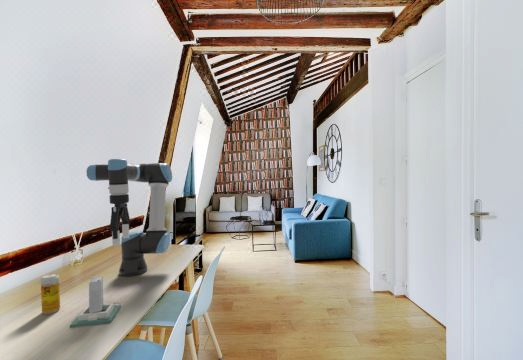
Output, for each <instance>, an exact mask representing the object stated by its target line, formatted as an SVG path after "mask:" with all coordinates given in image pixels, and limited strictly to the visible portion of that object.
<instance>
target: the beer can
mask: <svg viewBox="0 0 523 360" xmlns="http://www.w3.org/2000/svg"><path fill="white" fill-rule="evenodd" d="M40 291H41V293H40V295H41V298H40V299H41V300H40V301H41V313H42V314H43V315H51V314H54V313H56V312H58V311H59V310H60V308H61V294H60V293H61V292H60V276H59V274H58V273H50V274H46V275H45V274H44V275H42V276H41V279H40Z"/></svg>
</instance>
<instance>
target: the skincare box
mask: <svg viewBox="0 0 523 360" xmlns="http://www.w3.org/2000/svg"><path fill="white" fill-rule="evenodd" d="M103 304H104V276H103V275H101V276H94V277H93V276H92V277H90V280H89V282H88V306H89V313H94V312H99V311H101V310H102V307H103Z"/></svg>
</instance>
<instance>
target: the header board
mask: <svg viewBox="0 0 523 360" xmlns="http://www.w3.org/2000/svg"><path fill="white" fill-rule="evenodd" d="M121 307H122V304H115V303H114V302H112V303H103V307H102V310H101V311H99V312H94V313H89V305H87V306H86V307H85V308H84V309H82V311H81V312H80V313H79V314H78V315H77V316H76V317H75V319H74V320H73V321H72V322H71V323H70V324H69V328H78V327H85V326H96V325H102V324H103V323H104V324H109V323H112V322H113V320H114V319H115V318H116V316H117V314H118V313H119V311H120V309H121Z"/></svg>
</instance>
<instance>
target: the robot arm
mask: <svg viewBox="0 0 523 360" xmlns="http://www.w3.org/2000/svg"><path fill="white" fill-rule="evenodd" d="M85 172H86V176H87V178H88V180H90V181H96V182H97V181H98V182H99V181H108V187H107V190H109V194H110V195H109V204H110V205H114V206H111V216H110V224H109V229H108V230H109V232H111V237H112V238H111V242H112V247H114V248H115V247H120V246H121V261H120V266H119V269H118V275H119V276H121V277H133V276H139V275H142V274H144V273H146V272H147V271H148V264H147V262H146V259H145V255H147V254H148V255H151V254H152V255H153V254H154V255H155V254H157V255H158V254H159V255H160V254H164V253H166V252H167V251H168V249H169V247H170V243H171V233H169V232H168V229H167V227H165V221H166V220H165V219H166V217H165V216H166V194H167V193H166V191H167V188H168V186H169V183H170V182H172V181H173V173H172V169H171V166H170V165H169V164H168V163H165V162H164V163H163V162H159V163H156V162H154V163H139V164H135V163H128V161H127V159H126V158H111V159H108V161H107V164H98V163H97V164H89V165H88V166H87V168H86V171H85ZM129 182H138V183H148V186H149V187H150V197H149V198H150V199H149V220H148V221H149V222H148V224H149V225H148V228H147V229H146V230H145V233H144V231H143V230H138V231H137V230H136V231H135V230H134V231H131V232H130V224H131V222H132V221H131V219H130V214H129V209H128V203H130V202H129V201H130V197H129ZM120 223H122V224H121V229H122V230H121V232H122V234H121V233H120V230H119V229H120ZM120 234H121V235H122V236H121V235H120Z"/></svg>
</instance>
